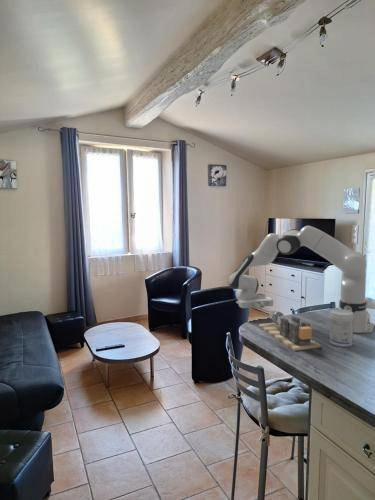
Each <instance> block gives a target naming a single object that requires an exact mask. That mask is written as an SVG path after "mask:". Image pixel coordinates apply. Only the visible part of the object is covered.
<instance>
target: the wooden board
mask: <svg viewBox="0 0 375 500" xmlns="http://www.w3.org/2000/svg"><path fill="white" fill-rule="evenodd" d="M291 320H293V321H295V322H297V323H299V327H306V326H309V327H310V328H311V323H309V322H307V321H305V320H304V321H303V320H302V321H301V318H299V317H297V316H295V315H293V316H291ZM300 321H301V323H300ZM300 325H301V326H300ZM258 327H259V328H261V329H262V330H263V329H264V330H263V331H265V332H266V331H267V332H266V333H268V334H269V335H270V336H272V337H273V338H274V339H276V340H278V341H280V343H282V344H283V345H285V346H287V347H288V348H289V349H291V350H292V351H303V350H311V349H317V348H321V344H320V343H318V342H317V341H315V340H314V339H304V340H302V339H300V338H299V331H298V325H297V324H295V323H290V330H289V329H288V319H286V318H284V317H283V318H280V324H276V323H275V322H269V323H259V324H258Z"/></svg>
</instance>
